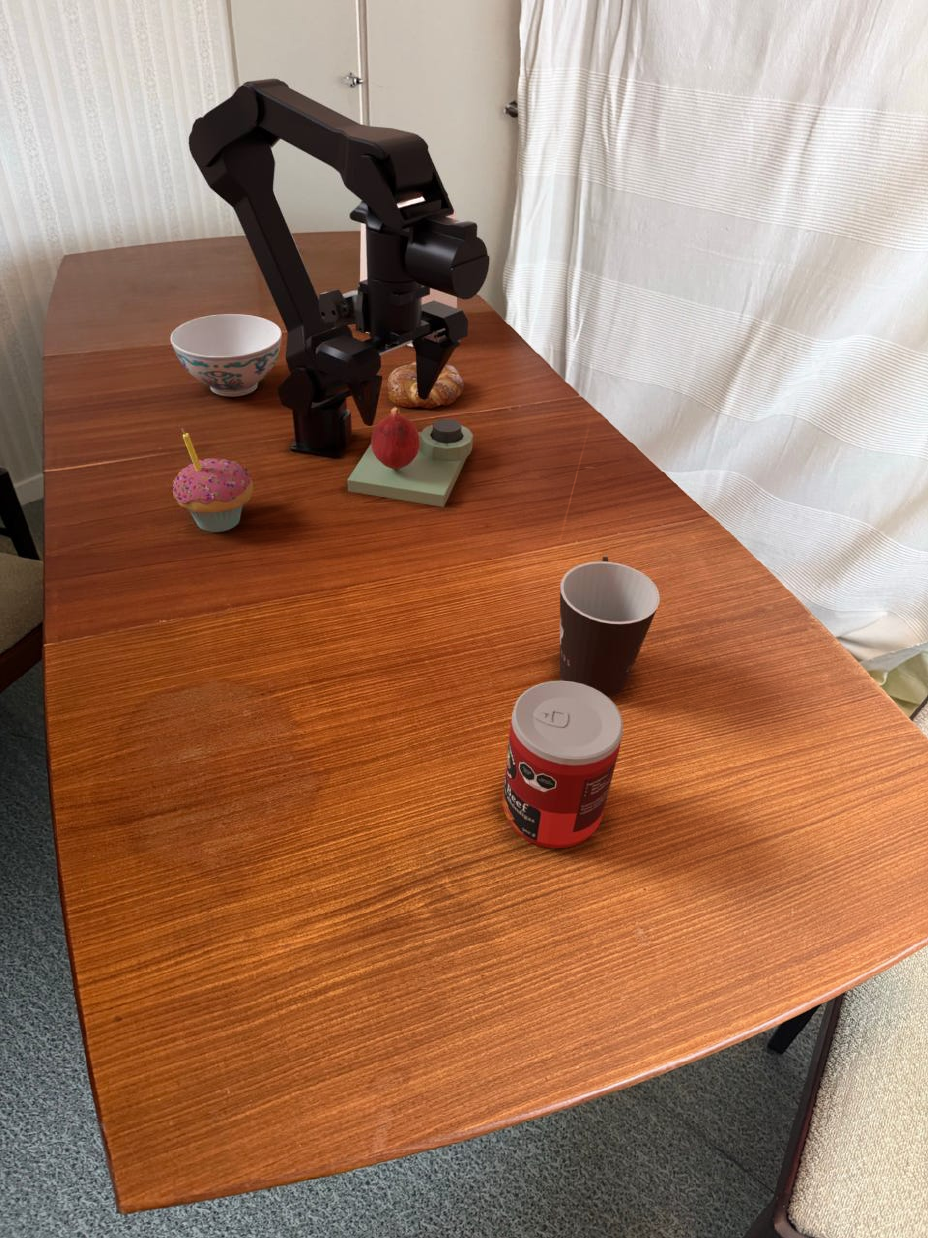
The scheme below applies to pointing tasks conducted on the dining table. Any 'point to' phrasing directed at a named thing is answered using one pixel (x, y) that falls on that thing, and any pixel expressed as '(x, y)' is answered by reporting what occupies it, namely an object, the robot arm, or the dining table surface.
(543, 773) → the canned food
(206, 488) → the cupcake
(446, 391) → the twisted bread ring
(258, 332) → the chinaware
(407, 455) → the onion
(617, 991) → the dining table surface
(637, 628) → the coffee mug
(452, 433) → the button
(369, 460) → the green flat block
